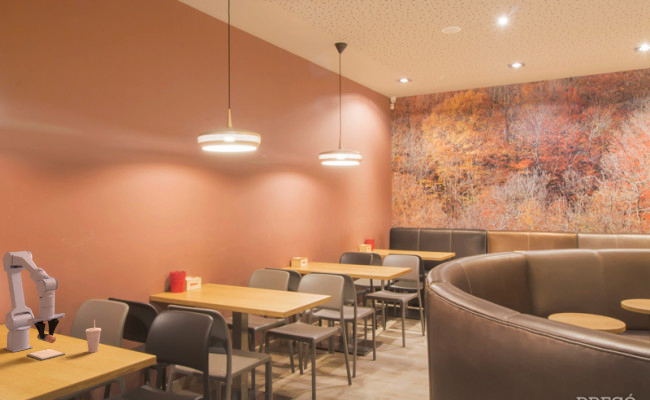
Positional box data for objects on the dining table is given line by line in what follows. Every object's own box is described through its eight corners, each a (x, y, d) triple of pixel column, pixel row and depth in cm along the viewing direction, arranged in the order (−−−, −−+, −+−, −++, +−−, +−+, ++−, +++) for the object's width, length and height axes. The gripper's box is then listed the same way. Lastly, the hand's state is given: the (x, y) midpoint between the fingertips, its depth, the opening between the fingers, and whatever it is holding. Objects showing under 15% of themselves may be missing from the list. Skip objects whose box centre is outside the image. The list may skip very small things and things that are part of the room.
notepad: (26, 355, 195) (26, 353, 195) (50, 349, 203) (50, 348, 203) (41, 360, 187) (41, 359, 187) (65, 354, 195) (65, 353, 196)
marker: (37, 340, 197) (37, 333, 197) (44, 338, 199) (44, 331, 199) (48, 343, 191) (48, 336, 191) (56, 342, 194) (56, 335, 194)
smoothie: (94, 353, 196) (94, 321, 197) (81, 353, 198) (82, 320, 198) (104, 349, 203) (104, 318, 203) (91, 348, 204) (92, 317, 204)
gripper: (33, 310, 187) (32, 343, 187) (68, 304, 200) (68, 335, 199) (25, 308, 191) (24, 340, 191) (60, 302, 203) (60, 333, 203)
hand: (46, 337), depth 195 cm, fingers closed on marker, 3 cm apart
